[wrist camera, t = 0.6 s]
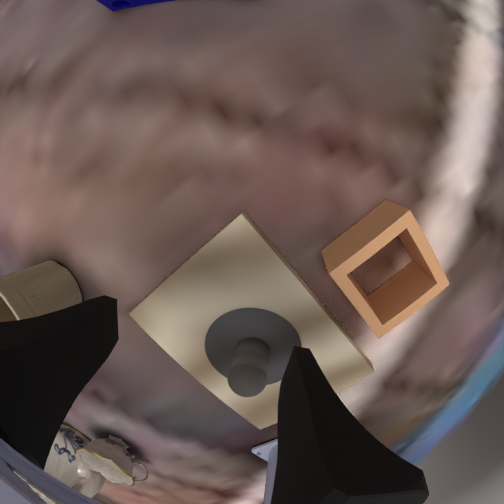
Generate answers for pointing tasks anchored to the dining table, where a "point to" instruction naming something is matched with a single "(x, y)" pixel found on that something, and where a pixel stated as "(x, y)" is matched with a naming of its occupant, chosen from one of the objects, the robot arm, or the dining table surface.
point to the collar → (399, 286)
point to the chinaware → (88, 462)
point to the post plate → (246, 322)
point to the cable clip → (127, 3)
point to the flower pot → (37, 291)
